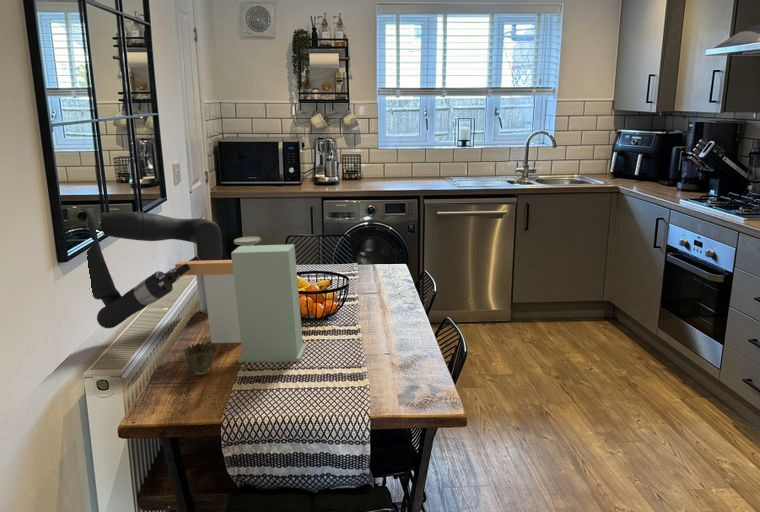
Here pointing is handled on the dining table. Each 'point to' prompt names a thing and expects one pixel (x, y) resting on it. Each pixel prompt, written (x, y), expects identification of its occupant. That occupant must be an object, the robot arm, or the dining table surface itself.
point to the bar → (207, 267)
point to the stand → (268, 303)
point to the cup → (199, 358)
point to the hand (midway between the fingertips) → (193, 262)
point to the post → (222, 308)
